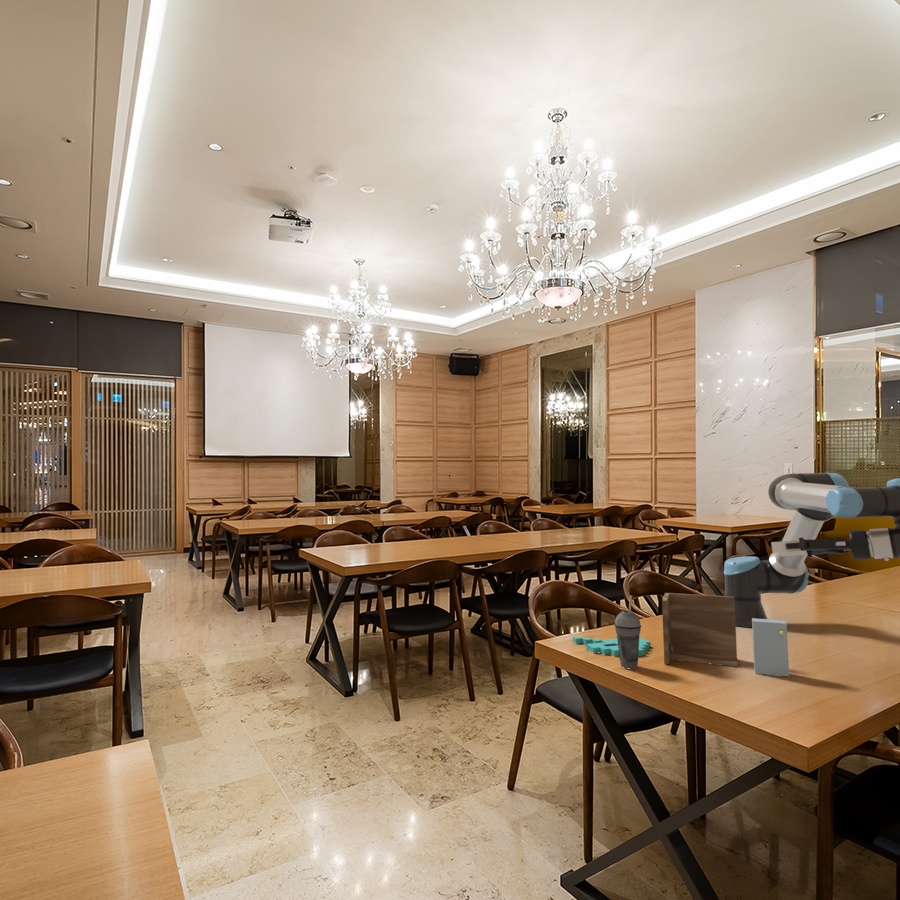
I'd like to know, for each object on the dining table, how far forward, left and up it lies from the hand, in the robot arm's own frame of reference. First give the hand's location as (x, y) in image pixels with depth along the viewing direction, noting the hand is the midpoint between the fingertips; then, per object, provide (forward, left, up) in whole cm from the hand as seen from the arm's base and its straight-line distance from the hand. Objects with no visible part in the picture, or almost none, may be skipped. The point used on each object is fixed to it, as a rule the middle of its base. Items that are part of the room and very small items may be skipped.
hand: (775, 549), depth 161 cm
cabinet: (-1, -21, -33) cm, 39 cm away
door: (+3, -3, -33) cm, 33 cm away
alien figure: (-7, -45, -34) cm, 56 cm away
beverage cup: (+11, -39, -33) cm, 52 cm away
